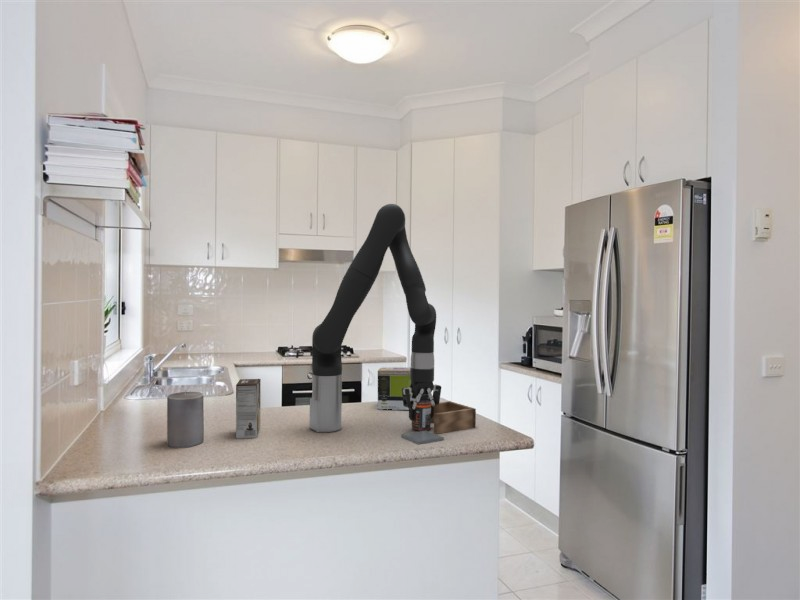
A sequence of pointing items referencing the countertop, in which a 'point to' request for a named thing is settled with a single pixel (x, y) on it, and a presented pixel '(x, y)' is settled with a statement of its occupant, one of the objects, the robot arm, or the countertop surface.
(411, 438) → the slate coaster
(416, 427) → the supplement bottle
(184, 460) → the countertop surface
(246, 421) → the coffee box
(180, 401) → the pillar candle
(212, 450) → the countertop surface
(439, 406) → the walnut cubby
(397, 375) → the tea box
